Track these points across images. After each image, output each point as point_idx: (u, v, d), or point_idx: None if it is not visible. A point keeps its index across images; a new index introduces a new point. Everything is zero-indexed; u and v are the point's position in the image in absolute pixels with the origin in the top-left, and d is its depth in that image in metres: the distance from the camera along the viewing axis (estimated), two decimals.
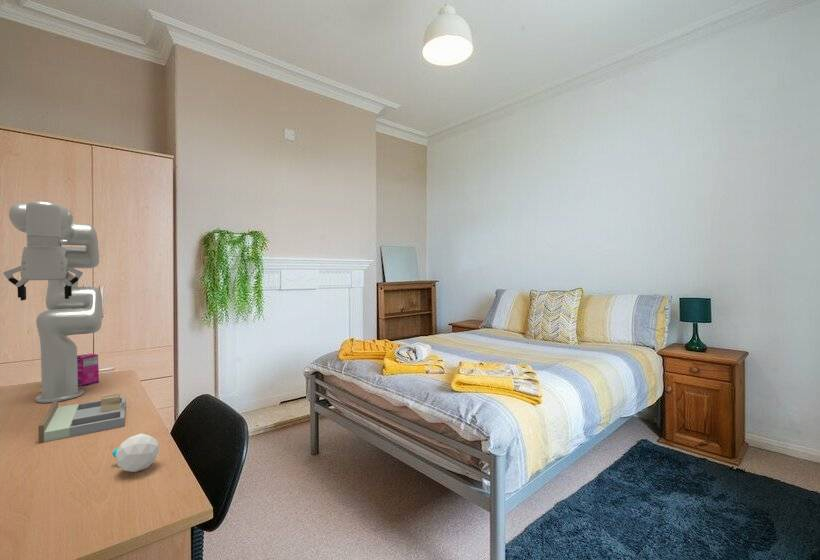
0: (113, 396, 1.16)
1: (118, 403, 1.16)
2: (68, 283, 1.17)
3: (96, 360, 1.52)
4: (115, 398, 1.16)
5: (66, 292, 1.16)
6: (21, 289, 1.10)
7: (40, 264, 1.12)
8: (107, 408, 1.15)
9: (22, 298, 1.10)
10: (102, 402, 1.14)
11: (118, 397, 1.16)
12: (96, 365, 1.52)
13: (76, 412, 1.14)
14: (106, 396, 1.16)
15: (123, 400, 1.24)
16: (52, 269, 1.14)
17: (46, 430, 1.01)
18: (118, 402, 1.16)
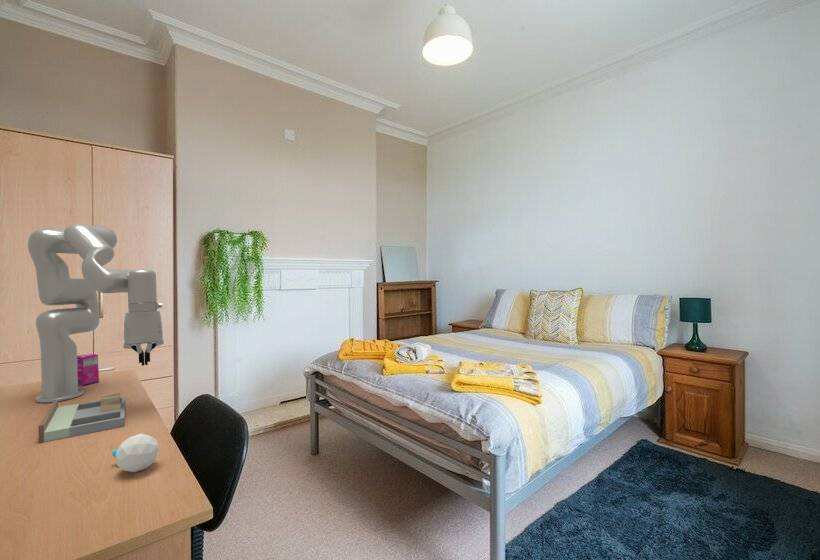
0: (113, 396, 1.16)
1: (118, 403, 1.16)
2: (148, 349, 1.21)
3: (96, 361, 1.52)
4: (115, 398, 1.16)
5: (146, 359, 1.20)
6: (142, 355, 1.20)
7: (141, 329, 1.19)
8: (107, 408, 1.15)
9: (143, 363, 1.20)
10: (102, 402, 1.14)
11: (118, 397, 1.16)
12: (96, 365, 1.52)
13: (76, 412, 1.14)
14: (106, 396, 1.16)
15: (123, 400, 1.24)
16: (151, 332, 1.21)
17: (46, 430, 1.01)
18: (118, 402, 1.16)
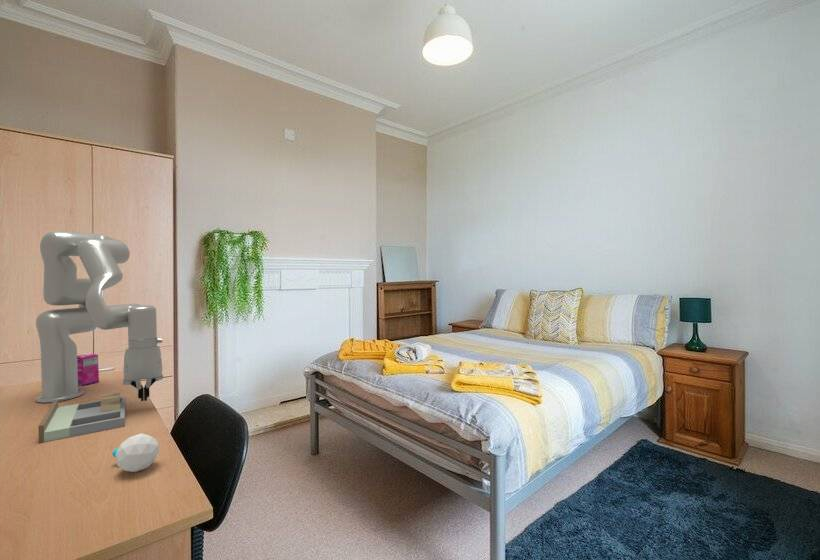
0: (113, 396, 1.16)
1: (118, 403, 1.16)
2: (148, 385, 1.21)
3: (96, 360, 1.52)
4: (115, 398, 1.16)
5: (145, 394, 1.21)
6: (141, 391, 1.20)
7: (141, 365, 1.19)
8: (107, 408, 1.15)
9: (142, 399, 1.20)
10: (102, 402, 1.14)
11: (118, 397, 1.16)
12: (96, 365, 1.52)
13: (76, 412, 1.14)
14: (106, 396, 1.16)
15: (123, 400, 1.24)
16: (150, 368, 1.21)
17: (46, 430, 1.01)
18: (118, 402, 1.16)
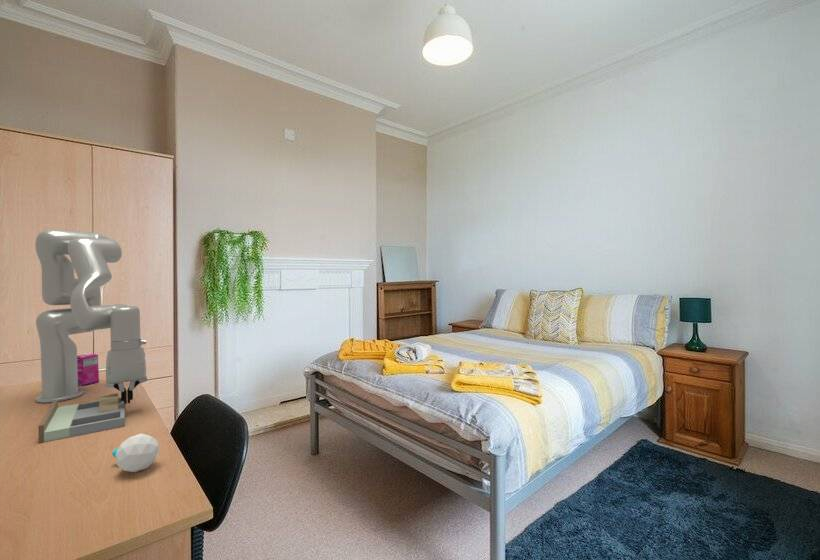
0: (111, 396, 1.16)
1: (116, 403, 1.16)
2: (131, 387, 1.19)
3: (96, 361, 1.52)
4: (113, 398, 1.15)
5: (129, 397, 1.18)
6: (124, 394, 1.18)
7: (123, 367, 1.17)
8: (105, 408, 1.14)
9: (125, 402, 1.18)
10: (100, 402, 1.14)
11: (116, 397, 1.16)
12: (96, 365, 1.52)
13: (76, 412, 1.14)
14: (104, 396, 1.16)
15: None
16: (134, 370, 1.18)
17: (46, 430, 1.01)
18: (116, 402, 1.16)
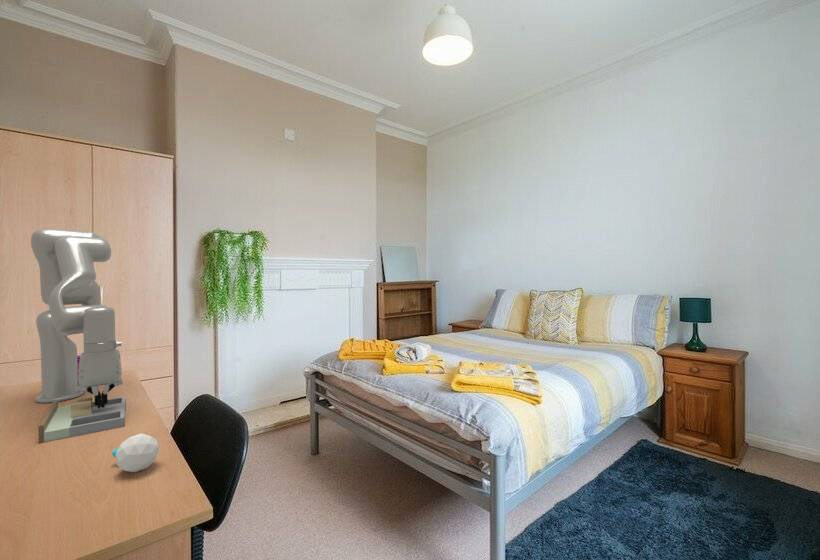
0: (84, 401, 1.12)
1: (89, 408, 1.12)
2: (105, 391, 1.15)
3: None
4: (86, 403, 1.11)
5: (103, 401, 1.14)
6: (98, 398, 1.14)
7: (97, 370, 1.13)
8: (78, 413, 1.10)
9: (99, 406, 1.14)
10: (72, 407, 1.09)
11: (89, 402, 1.12)
12: None
13: None
14: (77, 401, 1.12)
15: (123, 400, 1.24)
16: (108, 373, 1.14)
17: (46, 430, 1.01)
18: (89, 407, 1.12)
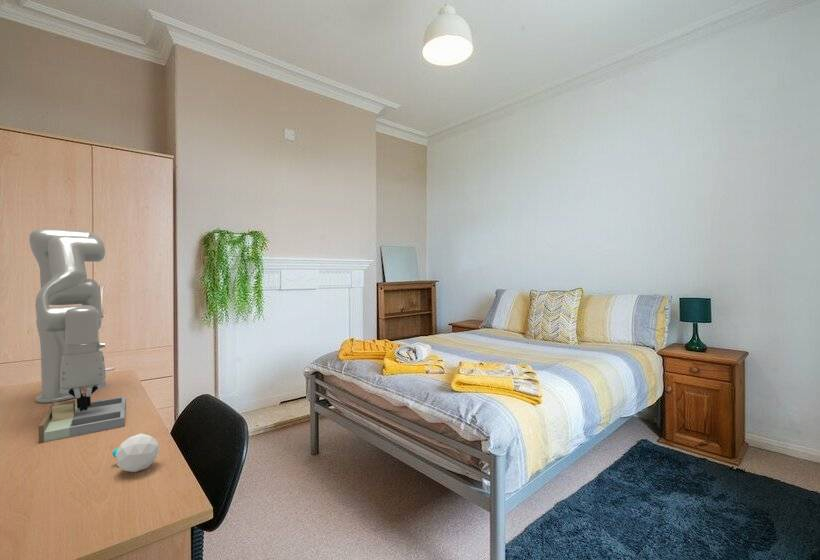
0: (66, 404, 1.09)
1: (72, 411, 1.09)
2: (88, 393, 1.12)
3: None
4: (68, 406, 1.09)
5: (85, 404, 1.12)
6: (80, 400, 1.11)
7: (79, 372, 1.10)
8: (59, 417, 1.08)
9: (81, 409, 1.11)
10: (53, 410, 1.07)
11: (72, 405, 1.09)
12: None
13: (76, 412, 1.14)
14: (59, 404, 1.09)
15: (123, 400, 1.24)
16: (91, 376, 1.12)
17: (46, 430, 1.01)
18: (72, 410, 1.09)
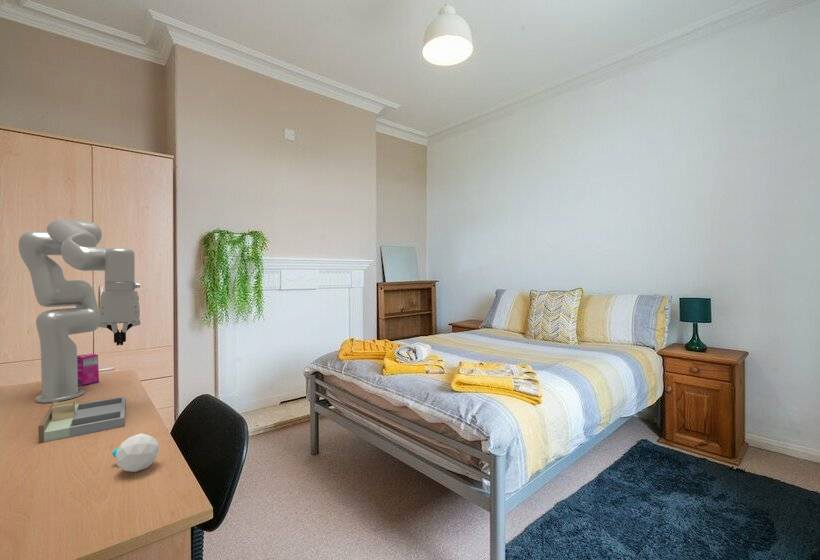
0: (66, 404, 1.09)
1: (71, 411, 1.09)
2: (124, 329, 1.19)
3: (96, 361, 1.52)
4: (68, 406, 1.09)
5: (121, 339, 1.19)
6: (117, 335, 1.18)
7: (116, 308, 1.17)
8: (59, 417, 1.08)
9: (118, 343, 1.18)
10: (53, 411, 1.07)
11: (71, 405, 1.09)
12: (96, 365, 1.52)
13: (76, 412, 1.14)
14: (58, 404, 1.09)
15: (123, 400, 1.24)
16: (127, 312, 1.19)
17: (46, 430, 1.01)
18: (71, 410, 1.09)
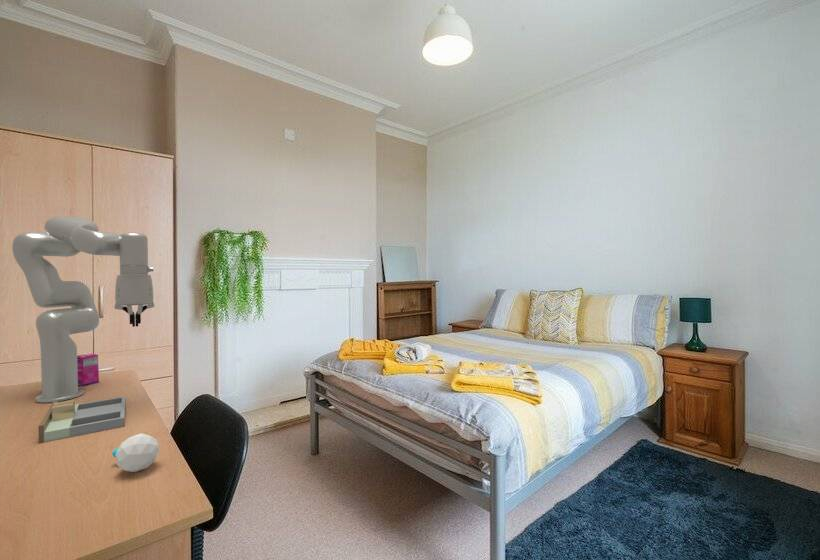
0: (66, 404, 1.09)
1: (71, 411, 1.09)
2: (139, 311, 1.24)
3: (96, 361, 1.52)
4: (68, 406, 1.09)
5: (137, 320, 1.23)
6: (133, 317, 1.23)
7: (132, 290, 1.22)
8: (59, 417, 1.08)
9: (133, 325, 1.23)
10: (53, 411, 1.07)
11: (71, 405, 1.09)
12: (96, 365, 1.52)
13: (76, 412, 1.14)
14: (58, 404, 1.09)
15: (123, 400, 1.24)
16: (142, 295, 1.24)
17: (46, 430, 1.01)
18: (71, 410, 1.09)
